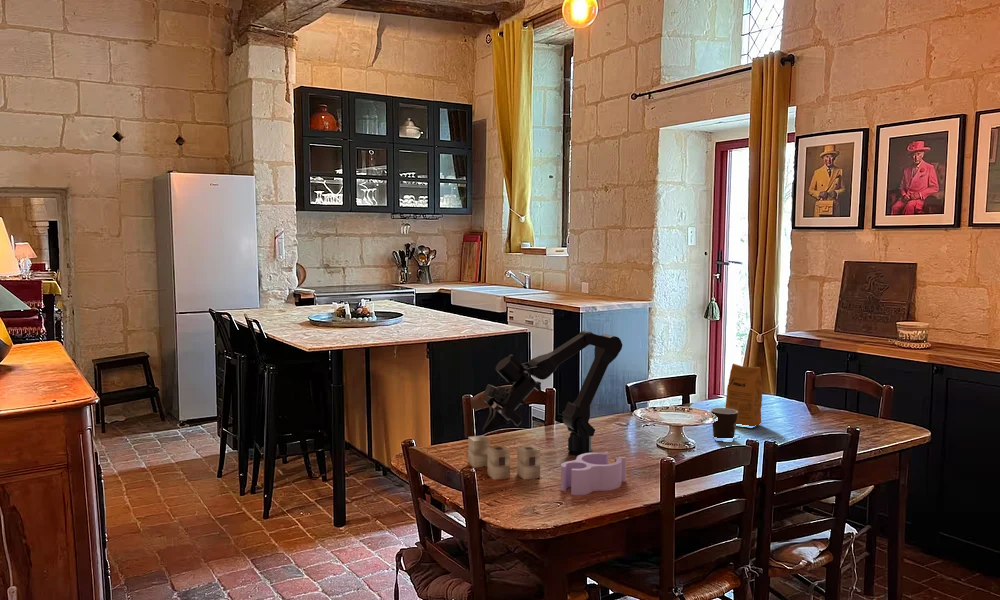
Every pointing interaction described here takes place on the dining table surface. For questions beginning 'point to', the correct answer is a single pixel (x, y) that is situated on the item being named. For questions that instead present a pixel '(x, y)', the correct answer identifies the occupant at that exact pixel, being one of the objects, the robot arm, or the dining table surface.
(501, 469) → the marked block 1
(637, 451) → the dining table surface
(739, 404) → the coffee package
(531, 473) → the marked block 2
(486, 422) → the robot arm
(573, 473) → the clip
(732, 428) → the coffee mug
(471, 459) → the plain block
